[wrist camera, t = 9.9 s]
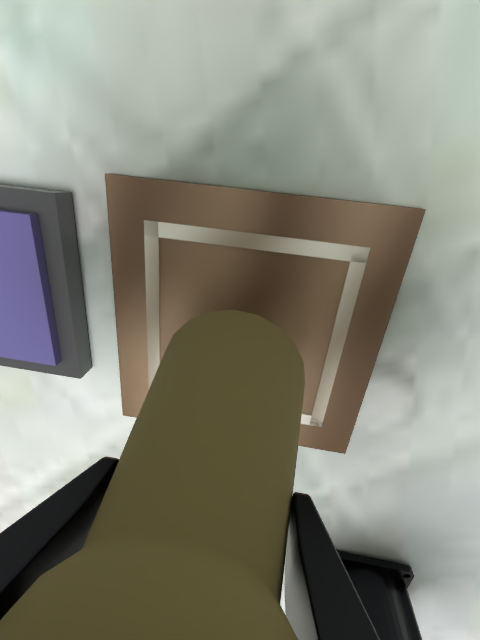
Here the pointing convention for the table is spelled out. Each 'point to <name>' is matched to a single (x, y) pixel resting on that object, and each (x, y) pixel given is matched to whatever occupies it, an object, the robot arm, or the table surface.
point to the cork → (189, 501)
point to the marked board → (259, 282)
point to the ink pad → (41, 284)
